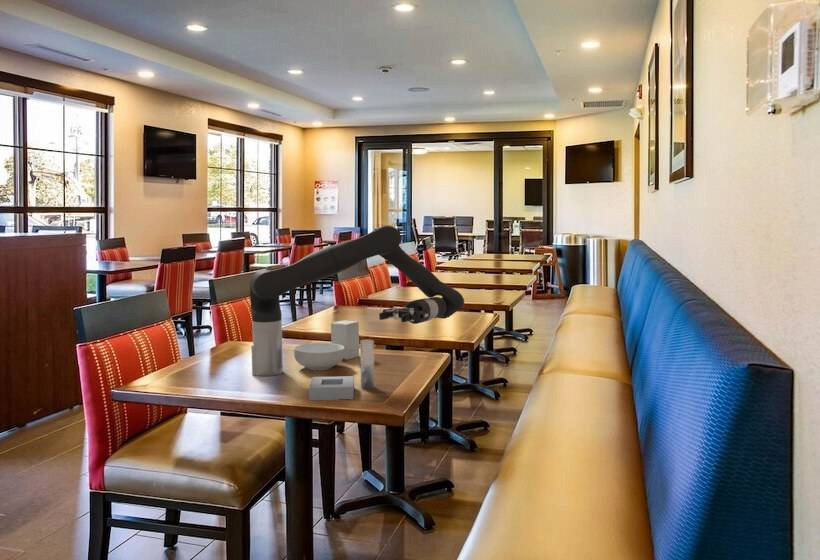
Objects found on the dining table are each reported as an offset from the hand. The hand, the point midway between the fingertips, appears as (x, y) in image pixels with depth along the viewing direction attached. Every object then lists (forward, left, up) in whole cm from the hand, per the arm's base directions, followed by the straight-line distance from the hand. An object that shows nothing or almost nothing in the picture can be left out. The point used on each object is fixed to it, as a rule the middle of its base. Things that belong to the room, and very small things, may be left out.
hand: (391, 317), depth 199 cm
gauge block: (-17, -15, -19) cm, 30 cm away
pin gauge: (-7, -9, -19) cm, 22 cm away
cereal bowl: (-23, +17, -20) cm, 35 cm away
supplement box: (-15, +33, -20) cm, 42 cm away
